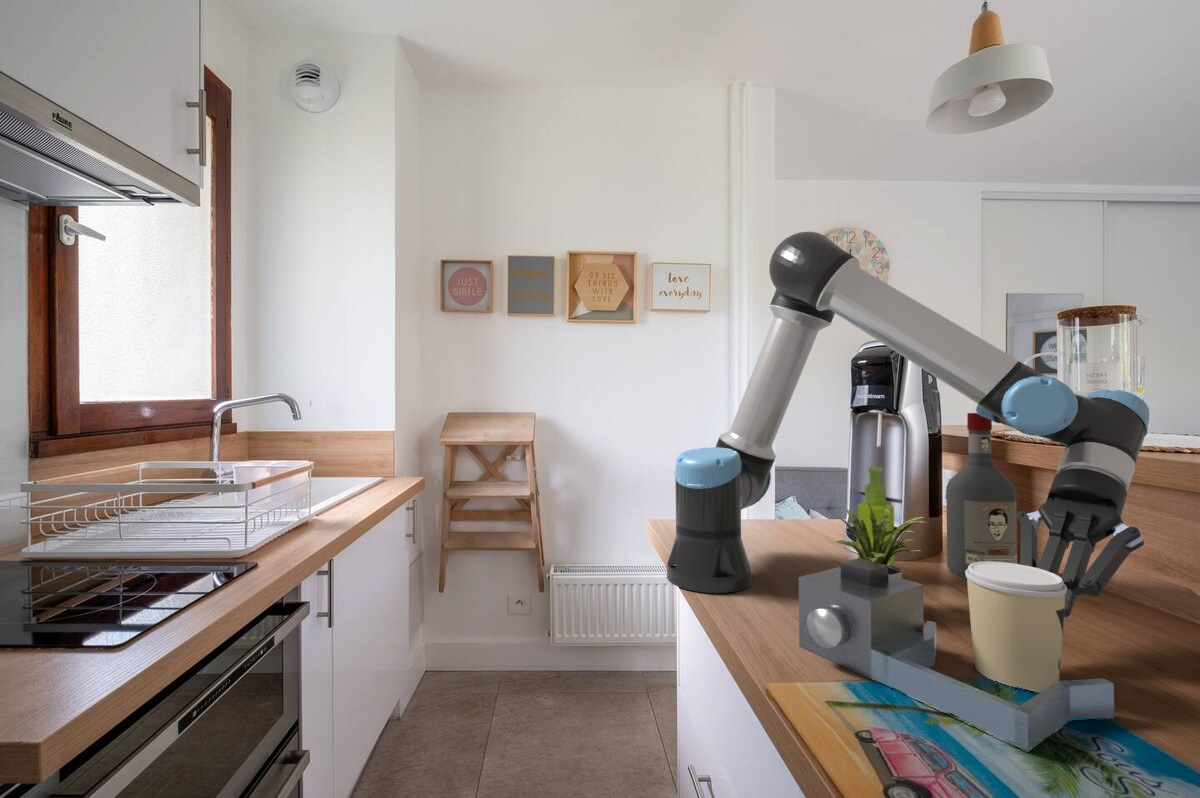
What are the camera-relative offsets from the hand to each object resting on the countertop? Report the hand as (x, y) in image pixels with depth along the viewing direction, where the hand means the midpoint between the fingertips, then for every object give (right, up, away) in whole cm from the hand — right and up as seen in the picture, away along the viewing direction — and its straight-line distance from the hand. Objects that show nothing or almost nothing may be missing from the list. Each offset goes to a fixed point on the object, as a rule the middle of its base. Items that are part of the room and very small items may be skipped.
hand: (1040, 633), depth 64 cm
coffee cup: (-5, -4, -2) cm, 7 cm away
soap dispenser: (-2, -5, +34) cm, 34 cm away
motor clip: (-15, -4, -3) cm, 16 cm away
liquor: (+17, -4, +34) cm, 38 cm away
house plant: (-10, -4, +17) cm, 20 cm away
